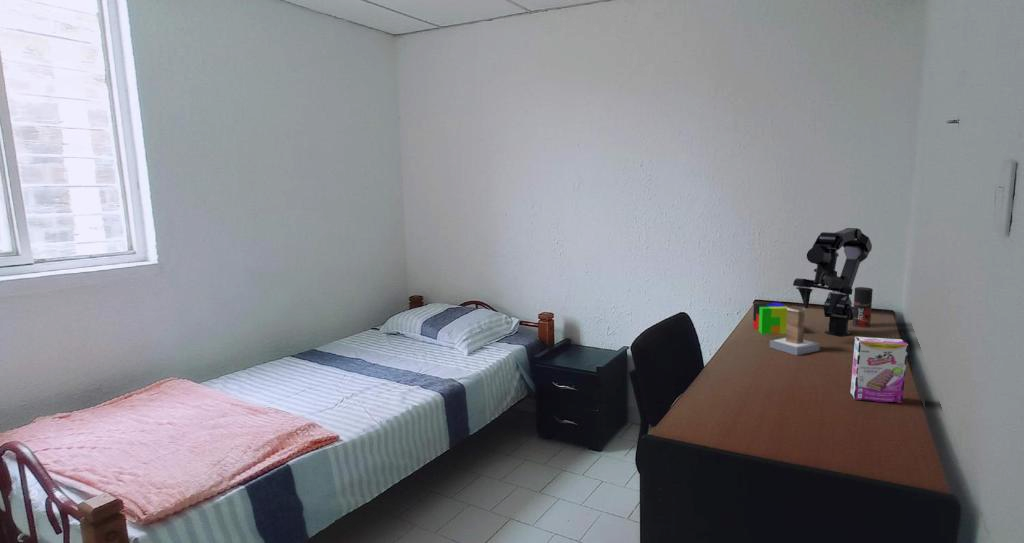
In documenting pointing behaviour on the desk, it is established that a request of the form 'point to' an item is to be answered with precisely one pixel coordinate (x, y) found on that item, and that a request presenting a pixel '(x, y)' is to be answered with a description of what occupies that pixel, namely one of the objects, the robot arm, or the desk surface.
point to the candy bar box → (878, 369)
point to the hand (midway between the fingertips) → (818, 310)
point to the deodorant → (862, 307)
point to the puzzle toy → (770, 318)
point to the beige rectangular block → (795, 324)
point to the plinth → (794, 346)
